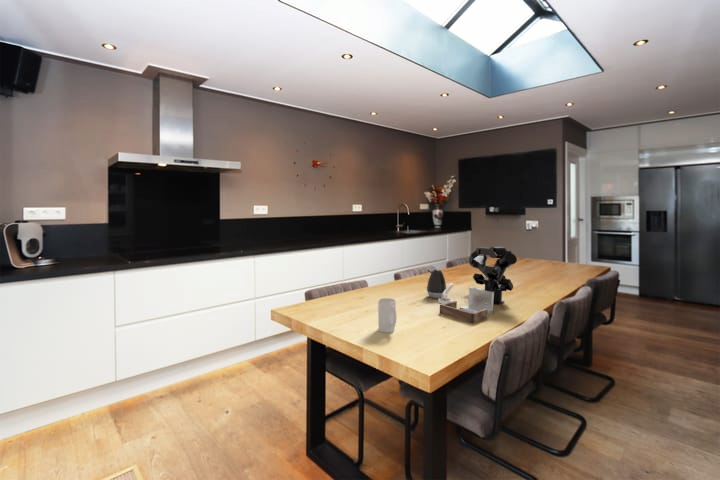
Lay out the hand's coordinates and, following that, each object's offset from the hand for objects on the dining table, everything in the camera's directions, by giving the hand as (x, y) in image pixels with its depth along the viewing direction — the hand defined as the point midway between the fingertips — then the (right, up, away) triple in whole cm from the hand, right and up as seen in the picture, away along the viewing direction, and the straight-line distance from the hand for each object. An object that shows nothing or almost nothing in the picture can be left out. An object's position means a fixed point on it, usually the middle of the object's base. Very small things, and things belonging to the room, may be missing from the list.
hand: (485, 295), depth 175 cm
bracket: (-5, -7, -3) cm, 9 cm away
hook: (-16, -5, +12) cm, 21 cm away
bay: (-13, -8, -10) cm, 18 cm away
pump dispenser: (-19, -4, +22) cm, 29 cm away
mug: (-48, -10, -31) cm, 58 cm away
